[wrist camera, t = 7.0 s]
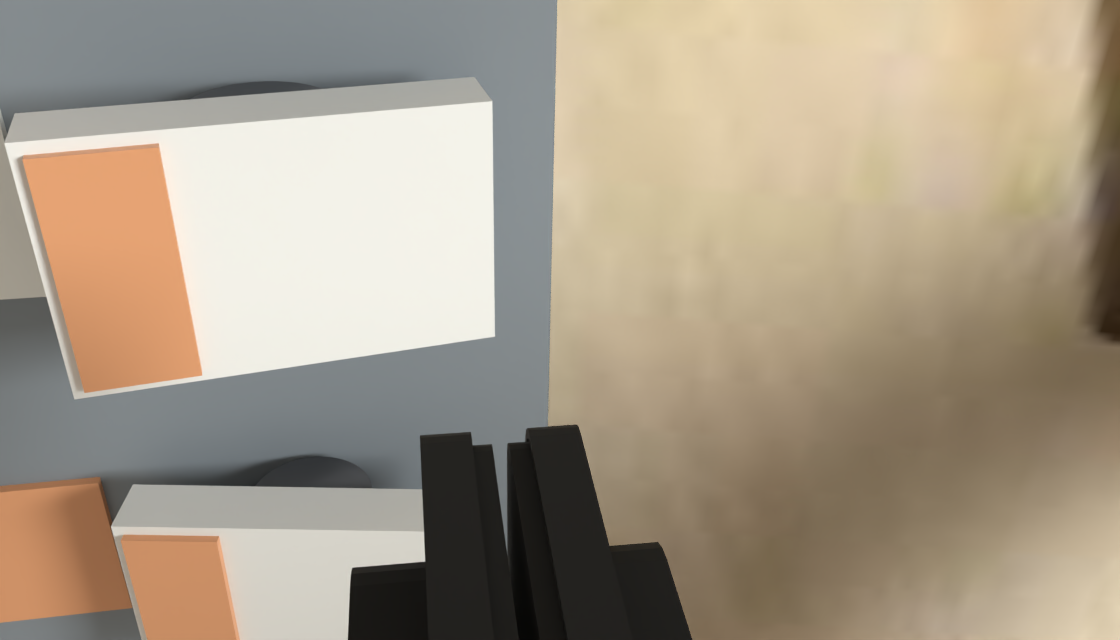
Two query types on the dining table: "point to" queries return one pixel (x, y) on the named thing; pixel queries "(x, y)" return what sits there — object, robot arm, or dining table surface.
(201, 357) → the switch
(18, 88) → the console
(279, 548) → the switch
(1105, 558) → the dining table surface
